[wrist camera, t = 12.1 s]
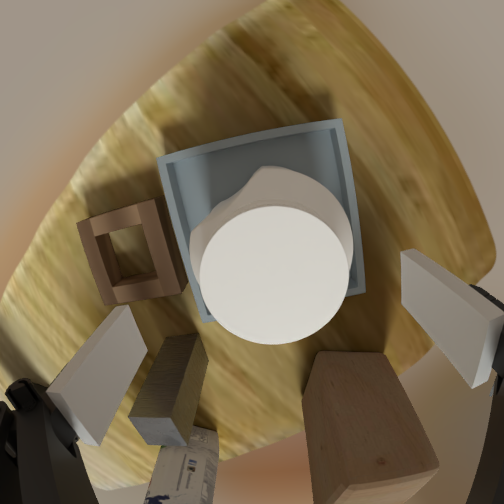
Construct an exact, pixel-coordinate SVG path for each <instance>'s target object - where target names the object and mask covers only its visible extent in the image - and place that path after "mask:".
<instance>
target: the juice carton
mask: <svg viewBox="0 0 504 504" xmlns="http://www.w3.org/2000/svg"><path fill="white" fill-rule="evenodd" d="M218 459H219V439H218V433H217V432H215V431H212V430H208V429H204V428H200V427H196V426H192V430H191V435H190V439H189V443H188V446H164V445H162V446H161V448H160V452H159V455H158V458H157V461H156V464H155V468H154V471H153V474H152V477H151V481H150V484H149V487H148V490H147V494H146V497H145V501H144V504H212V502H213V496H214V488H215V481H216V474H217V466H218Z"/></svg>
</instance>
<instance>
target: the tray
mask: <svg viewBox="0 0 504 504" xmlns="http://www.w3.org/2000/svg"><path fill="white" fill-rule="evenodd" d="M156 159H157V164H158V168H159V172H160V176H161V181H162V185H163V189H164V193H165V197H166V201H167V204H168V208H169V212H170V216H171V220H172V223H173V227H174V231H175V234H176V238H177V241H178V245H179V248H180V252H181V255H182V259H183V262H184V266H185V269H186V272H187V275H188V279H189V282H190V285H191V288H192V292H193V295H194V298H195V301H196V304H197V307H198V310H199V313H200V316H201V319H202V322H203V323H206V322H213V321H217V320H216V319H215V318H214V317H213V315H212V314H211V313H210V311H209V310H208V308H207V306H206V304H205V302H204V300H203V297H202V294H201V290H200V285H199V284H198V282H197V280H196V277H195V275H194V272H193V269H192V265H191V261H190V251H189V244H190V235H191V231H192V230H193V229H194V228H195V227H196V226H197V225H198V224H199V223H201V222H202V221H203V220H204V219H205V218H206V217H207V216H208V215H209V214H210V213H211V211H212V209H213V208H214V207H215V206H217V205H218V204H219V203H220V202H221V201H224V200H226V199H228V198H230V197H231V196H233V195H234V194H236V193H237V192H238V191H239V190H241V189H242V188H243V187H244V186H245V185H246V183H247V182H248V181H249V180H250V178H251V177H252V176H253V174H254V172H255V171H257V170H258V169H259V168H260V167H261V166H279V167H284V168H287V169H290V170H292V171H295V172H298V173H301V174H304V175H306V176H308V177H310V178H312V179H314V180H316V181H317V182H319V183H320V184H321V185H323V186H324V187H325V188H326V189H328V190H329V191H330V192H331V193H332V194H333V195H334V197H335V198H336V199H337V200H338V202H339V203H340V204H341V206H342V208H343V209H344V211H345V213H346V215H347V218H348V220H349V223H350V226H351V230H352V236H353V257H352V263H351V267H350V270H349V282H348V288H347V292H346V295H345V297H348V296H352V295H356V294H361V293H365V292H366V286H365V272H364V260H363V249H362V240H361V231H360V222H359V214H358V207H357V200H356V193H355V186H354V180H353V174H352V168H351V163H350V157H349V152H348V147H347V141H346V137H345V132H344V127H343V122H342V118H340V119H332V120H325V121H317V122H311V123H304V124H298V125H292V126H286V127H281V128H275V129H270V130H265V131H260V132H255V133H250V134H245V135H241V136H236V137H232V138H228V139H224V140H219V141H215V142H211V143H207V144H204V145H200V146H196V147H192V148H189V149H185V150H181V151H178V152H174V153H171V154H168V155H164V156H161V157H158V158H156Z"/></svg>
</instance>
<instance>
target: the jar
mask: <svg viewBox="0 0 504 504" xmlns="http://www.w3.org/2000/svg"><path fill="white" fill-rule="evenodd" d="M189 251H190V261H191V265H192V269H193V272H194V275H195V277H196V280H197V282H198V284H199V285H200V290H201V294H202V297H203V300H204V302H205V304H206V306H207V308H208V310H209V311H210V313H211V314H212V315H213V317H214V318H215V319H216V320H217V321H218V322H219V323H220V324H221V325H222V326H223V327H224V328H225V329H227V330H228V331H230V332H231V333H233V334H235V335H236V336H239V337H241V338H243V339H245V340H248V341H252V342H256V343H261V344H284V343H290V342H294V341H297V340H300V339H303V338H305V337H307V336H309V335H311V334H313V333H315V332H316V331H318V330H319V329H321V328H322V327H323V326H324V325H326V324H327V323H328V322H329V321H330V320H331V319H332V318H333V316H334V315H335V314H336V312H337V311H338V309H339V308H340V306H341V304H342V302H343V300H344V298H345V295H346V292H347V288H348V282H349V270H350V267H351V263H352V257H353V236H352V230H351V226H350V223H349V220H348V218H347V215H346V213H345V211H344V209H343V208H342V206H341V204H340V203H339V202H338V200H337V199H336V198H335V197H334V195H333V194H332V193H331V192H330V191H329V190H328V189H326V188H325V187H324V186H323V185H321V184H320V183H319V182H317V181H316V180H314V179H312V178H310V177H308V176H306V175H304V174H301V173H298V172H295V171H292V170H290V169H287V168H284V167H279V166H261V167H260V168H259V169H258V170H257V171H255V172H254V174H253V176H252V177H251V178H250V180H249V181H248V182H247V183H246V185H245V186H244V187H243V188H242V189H241V190H239V191H238V192H237V193H236V194H234V195H233V196H231V197H230V198H228V199H226V200H224V201H221V202H220V203H219V204H218V205H217V206H215V207H214V208H213V209H212V211H211V213H210V214H209V215H208V216H207V217H206V218H205V219H204V220H203V221H202V222H201V223H199V224H198V225H197V226H196V227H195V228H194V229H193V230H192V231H191V235H190V244H189Z"/></svg>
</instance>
